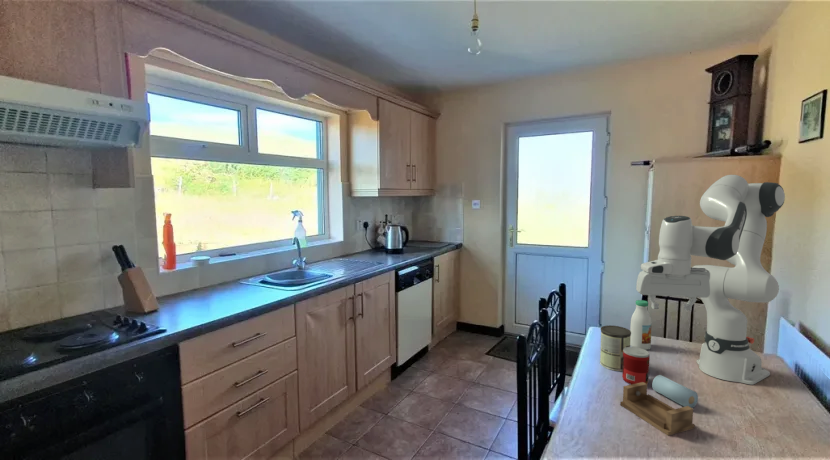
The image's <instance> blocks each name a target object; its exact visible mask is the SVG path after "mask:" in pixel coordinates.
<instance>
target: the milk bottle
mask: <svg viewBox="0 0 830 460" xmlns="http://www.w3.org/2000/svg"><path fill="white" fill-rule="evenodd" d="M648 308H649V302H648V301H647V300H644V299H638V300H636V301H635V310H634V312H633V313H632V315H631V318H630V327H629V328H630V329H629V330H630V331H631V340H630V347H636V348H641V349H644V350H646V351H648V350H651V347H652V346H651V345H652V318H651V315H650V313H649V311H648Z"/></svg>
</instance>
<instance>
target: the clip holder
mask: <svg viewBox="0 0 830 460" xmlns="http://www.w3.org/2000/svg"><path fill="white" fill-rule="evenodd" d="M622 390H623V392H622V401H620V404H619V405H620V406H621V407H623V408H624V409H626V410H627V411H629V412H630V413H632V414H634V415H635V416H637V417H638V418H639V419H642V420H643V421H645V422H646V423H647V424H649V425H651V426H652V427H653V428H655V429H657V430H659V431H660V432H661V433H663V434H665V435H666V436H668V437H669V436H672V435H675V434H679V433H683V432H686V431H689V430H693V429H695V428H696V427H695V426H696V425H695V424H694V423H693V419H694V417H693V415H694V407H693V408H691V407H689V406H686V407H684V406H682V407H679V408H674V407H672V406H671V405H669V404H667V403H666V402H663V401H662V400H660V399H658V398H656V397H654V396H652V395H651V394H648V384H646V383H644V382H641V383H636V384H627V385H624V386H623V389H622Z"/></svg>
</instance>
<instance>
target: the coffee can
mask: <svg viewBox="0 0 830 460" xmlns="http://www.w3.org/2000/svg"><path fill="white" fill-rule="evenodd" d="M630 340H631V331H630V329H628V328H626V327H623V326H619V325H604V326H600V351H599V352H600V359H599V364H600V365H601V366H602V367H603V368H604V369H607V370H610V371H614V372H622V371H623V350H624V348H626V347H631V345H630Z"/></svg>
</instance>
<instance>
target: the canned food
mask: <svg viewBox="0 0 830 460" xmlns="http://www.w3.org/2000/svg"><path fill="white" fill-rule="evenodd" d="M650 360H651V359H650V352H649V351H648V350H644V349H641V348H636V347H632V346H630V347H626V348H624V350H623V371H621V372H622V380H623V381H624V382H625V383H627V384H628V385H631V384H636V383H641V382H644V383H646V384H647V385H648V383H649V377H650V376H649V375H650Z"/></svg>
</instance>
